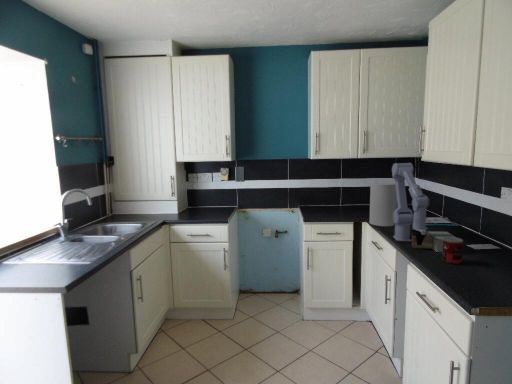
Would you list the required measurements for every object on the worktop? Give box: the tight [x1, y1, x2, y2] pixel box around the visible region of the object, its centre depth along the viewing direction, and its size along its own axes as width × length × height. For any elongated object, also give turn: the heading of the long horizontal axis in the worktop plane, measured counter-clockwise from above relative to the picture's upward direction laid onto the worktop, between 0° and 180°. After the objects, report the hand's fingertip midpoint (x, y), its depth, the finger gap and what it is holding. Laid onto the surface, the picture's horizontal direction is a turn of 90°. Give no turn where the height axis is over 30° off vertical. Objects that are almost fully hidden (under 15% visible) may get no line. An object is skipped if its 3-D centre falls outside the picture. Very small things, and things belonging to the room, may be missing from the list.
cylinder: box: [369, 182, 398, 227], centre depth 225 cm, size 17×17×28 cm
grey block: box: [426, 230, 456, 253], centre depth 171 cm, size 14×11×8 cm
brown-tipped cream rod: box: [411, 235, 433, 249], centre depth 172 cm, size 2×14×6 cm, turn 82°
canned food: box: [441, 236, 464, 265], centre depth 152 cm, size 8×8×11 cm
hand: (418, 244), depth 173 cm, fingers closed on brown-tipped cream rod, 2 cm apart
